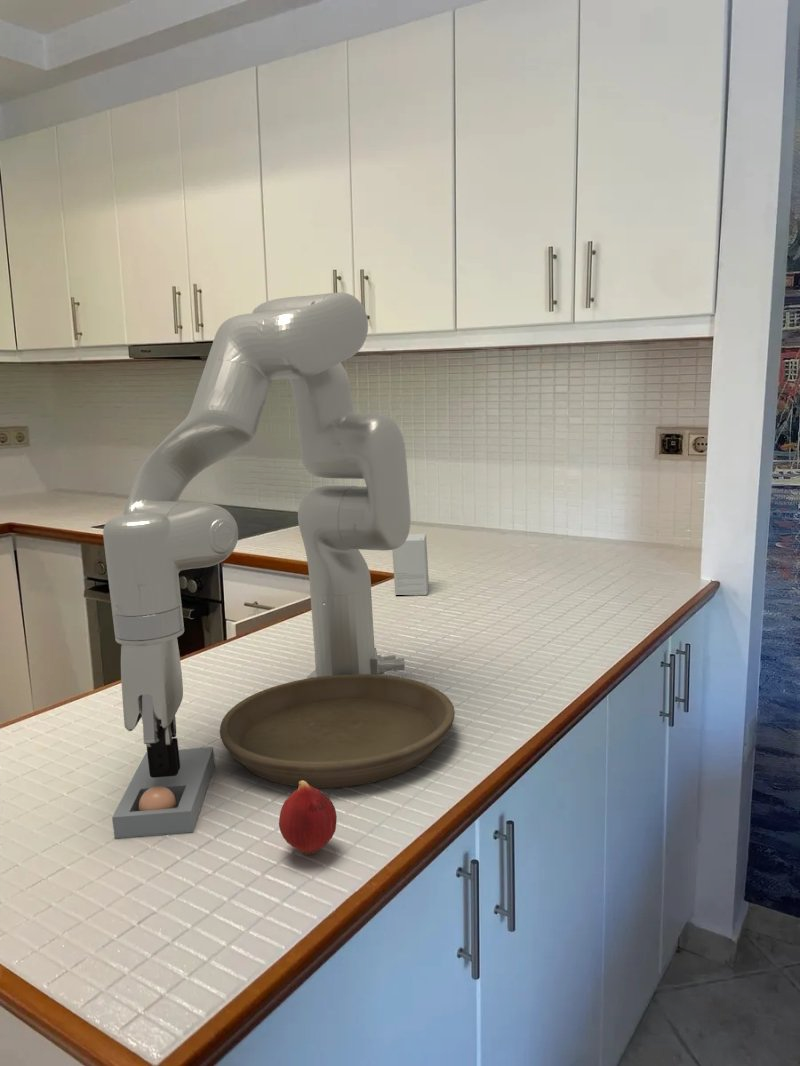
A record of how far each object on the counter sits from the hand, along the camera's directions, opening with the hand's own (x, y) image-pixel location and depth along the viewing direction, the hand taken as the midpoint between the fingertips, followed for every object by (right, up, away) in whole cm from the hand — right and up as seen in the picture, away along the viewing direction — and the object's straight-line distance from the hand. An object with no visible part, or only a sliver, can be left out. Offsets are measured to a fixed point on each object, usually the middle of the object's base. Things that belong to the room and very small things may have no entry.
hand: (165, 773), depth 97 cm
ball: (0, -2, -4) cm, 5 cm away
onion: (+18, -5, -12) cm, 22 cm away
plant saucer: (+19, 0, +14) cm, 24 cm away
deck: (0, -3, +1) cm, 3 cm away
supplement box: (+30, +15, +89) cm, 96 cm away
